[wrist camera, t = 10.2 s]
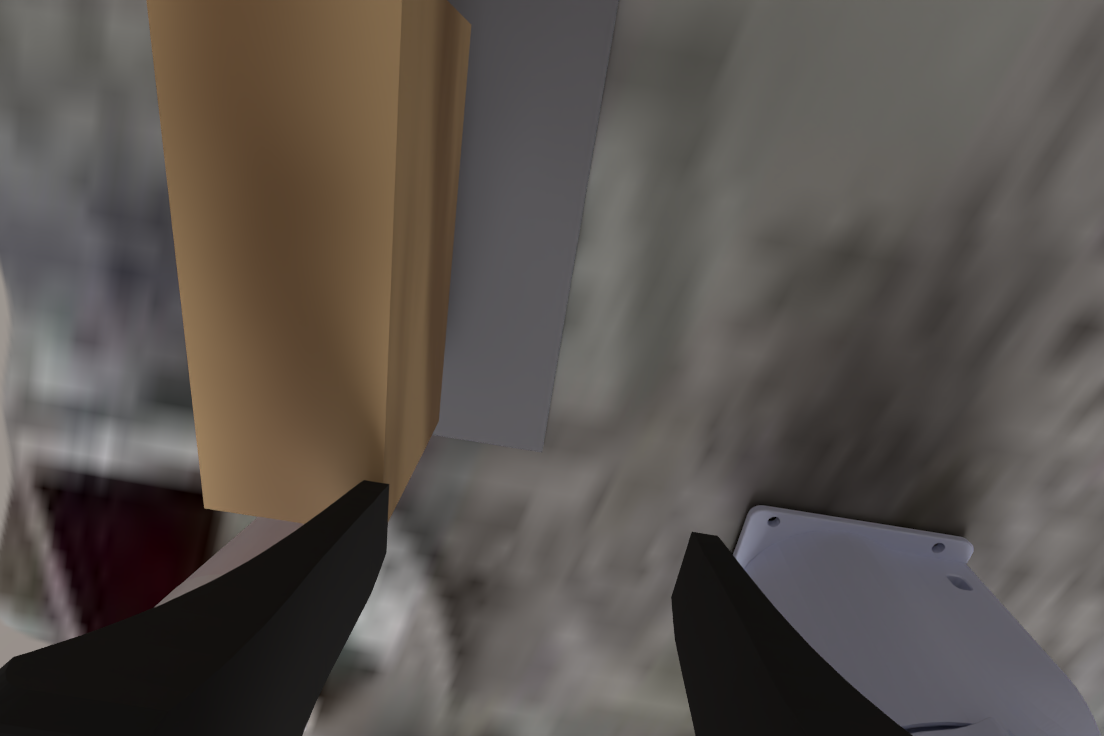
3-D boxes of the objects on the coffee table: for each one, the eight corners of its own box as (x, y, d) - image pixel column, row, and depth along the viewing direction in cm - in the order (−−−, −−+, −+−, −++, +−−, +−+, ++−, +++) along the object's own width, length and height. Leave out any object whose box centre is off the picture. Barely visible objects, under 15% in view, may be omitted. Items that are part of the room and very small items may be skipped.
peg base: (619, -8, 17) (627, -37, 14) (543, 446, 23) (537, 488, 20) (224, -75, 17) (152, -118, 14) (254, 400, 23) (209, 436, 20)
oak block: (471, 25, 15) (403, -45, 9) (438, 421, 19) (380, 535, 14) (306, -3, 15) (135, -90, 9) (313, 401, 19) (204, 508, 14)
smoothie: (257, 434, 23) (-144, 800, 10) (406, 465, 24) (194, 861, 11) (257, 551, 26) (-68, 963, 13) (392, 578, 26) (205, 1010, 13)
